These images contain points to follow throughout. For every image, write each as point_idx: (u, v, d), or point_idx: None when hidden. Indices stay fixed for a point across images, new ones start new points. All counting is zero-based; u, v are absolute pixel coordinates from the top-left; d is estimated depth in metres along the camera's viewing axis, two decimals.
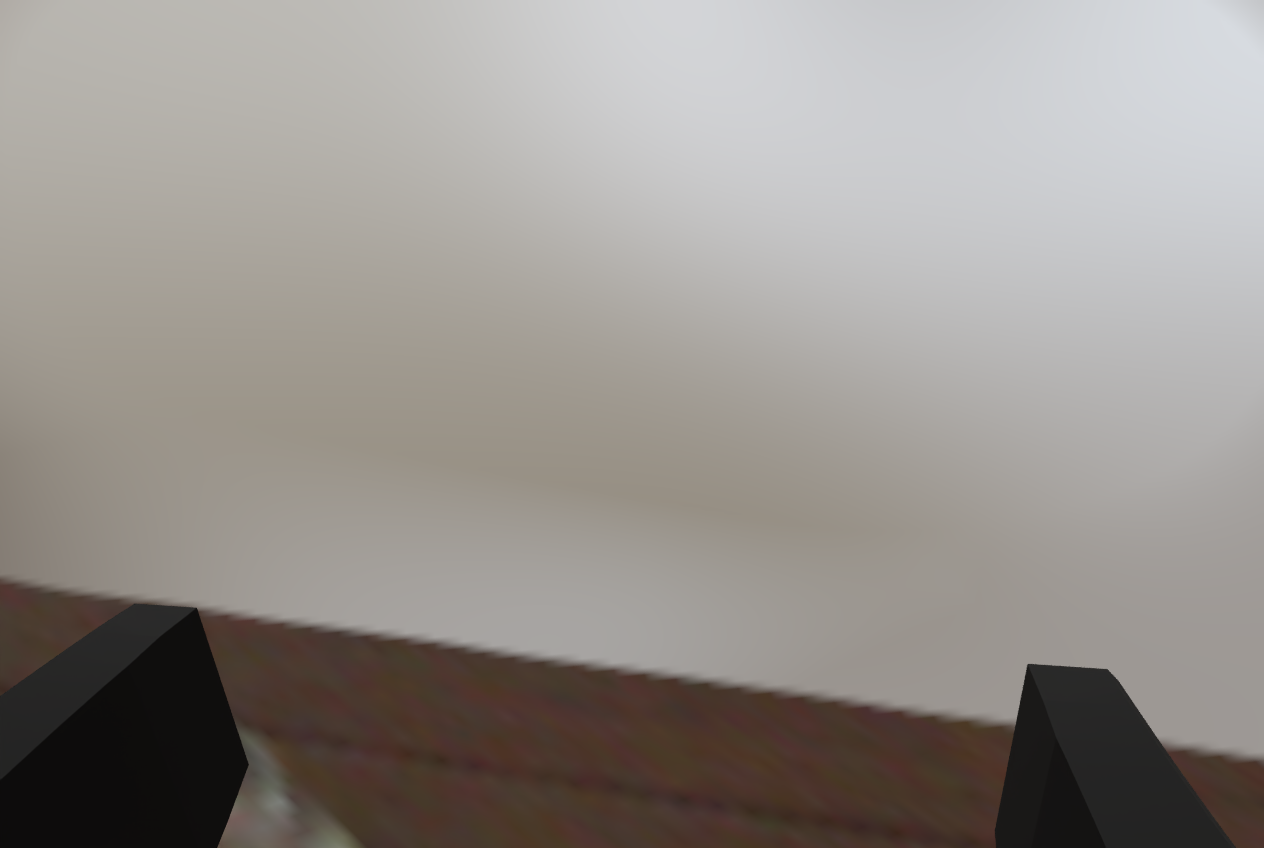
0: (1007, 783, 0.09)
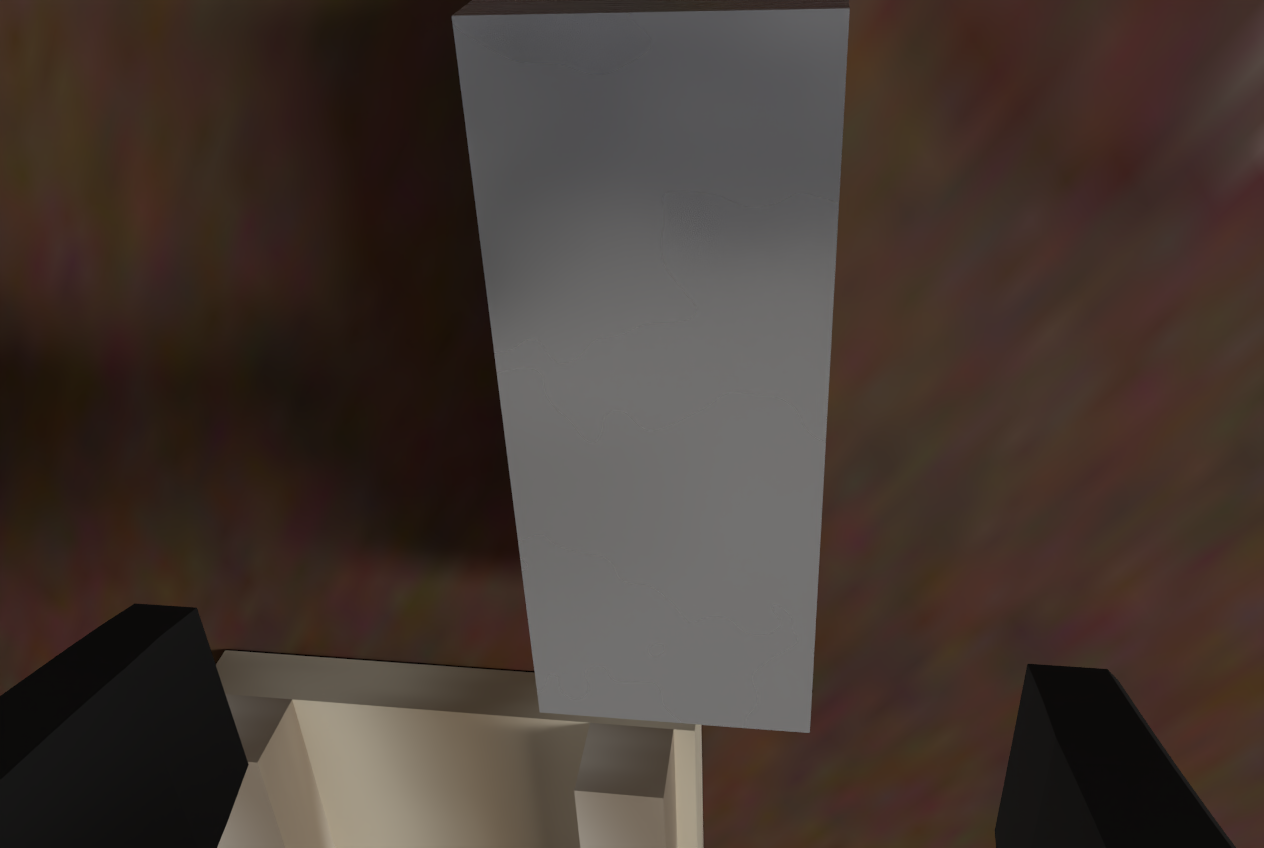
0: (1007, 783, 0.09)
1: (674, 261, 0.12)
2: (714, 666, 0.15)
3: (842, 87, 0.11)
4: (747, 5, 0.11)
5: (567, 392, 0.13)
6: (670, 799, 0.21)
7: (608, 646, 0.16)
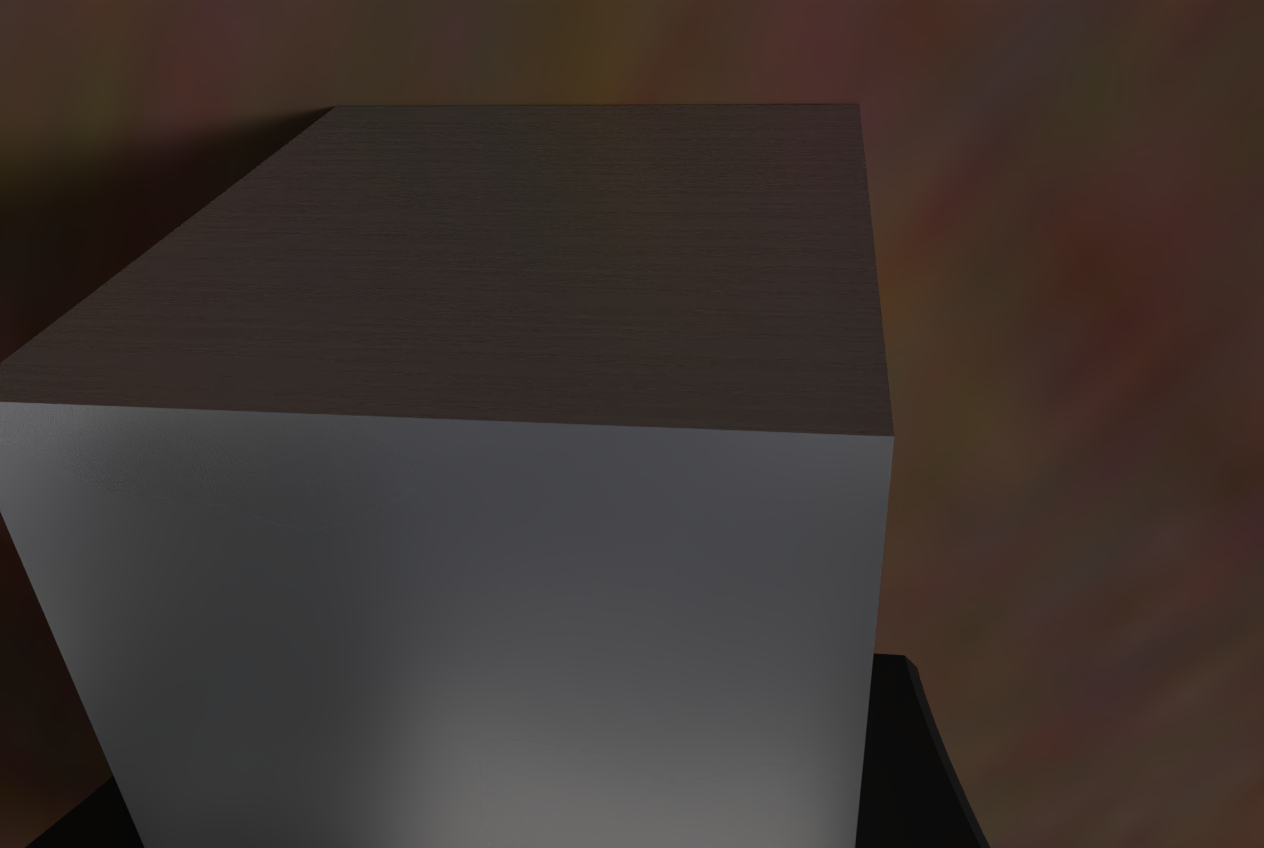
0: None
1: (513, 847, 0.06)
2: None
3: (872, 584, 0.05)
4: (643, 397, 0.05)
5: None
6: None
7: None
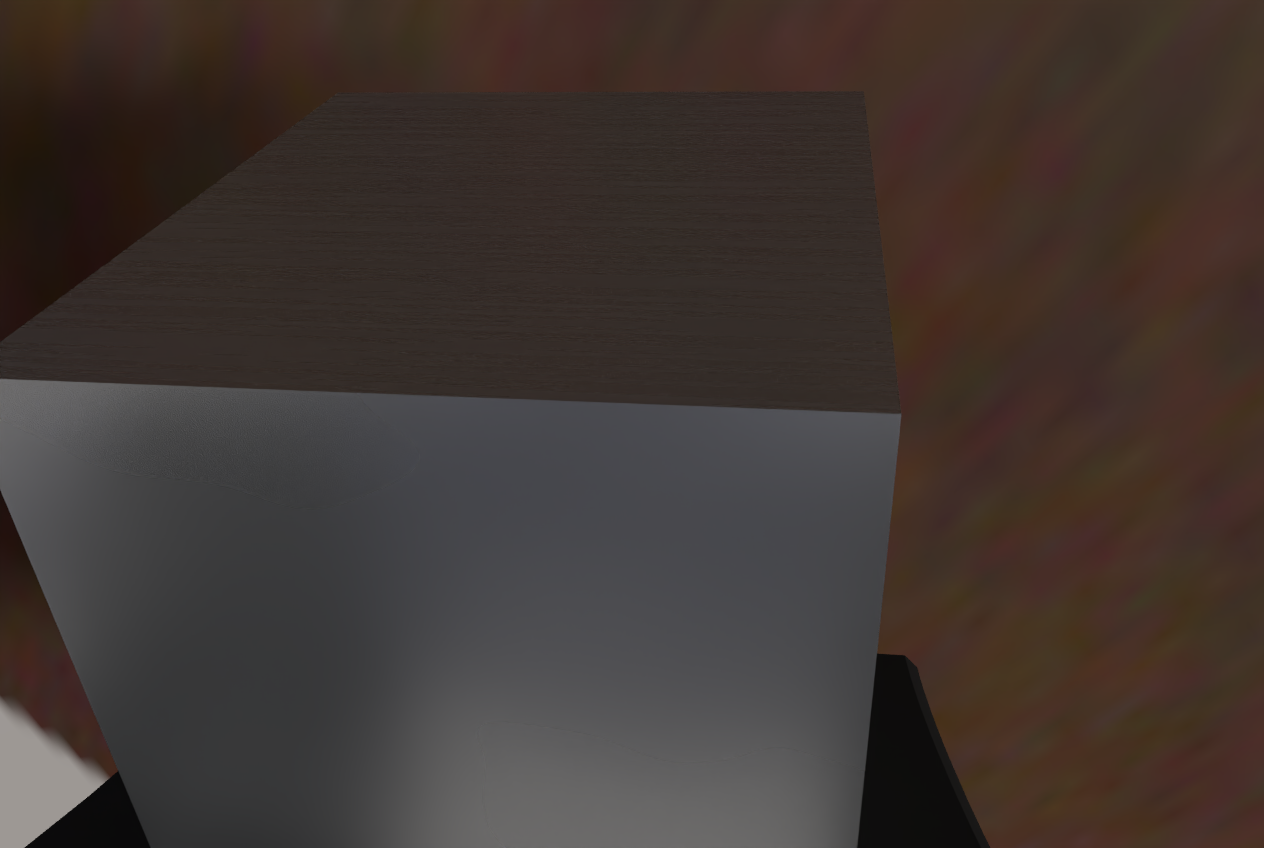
0: None
1: (515, 832, 0.06)
2: None
3: (877, 565, 0.05)
4: (647, 375, 0.04)
5: None
6: None
7: None
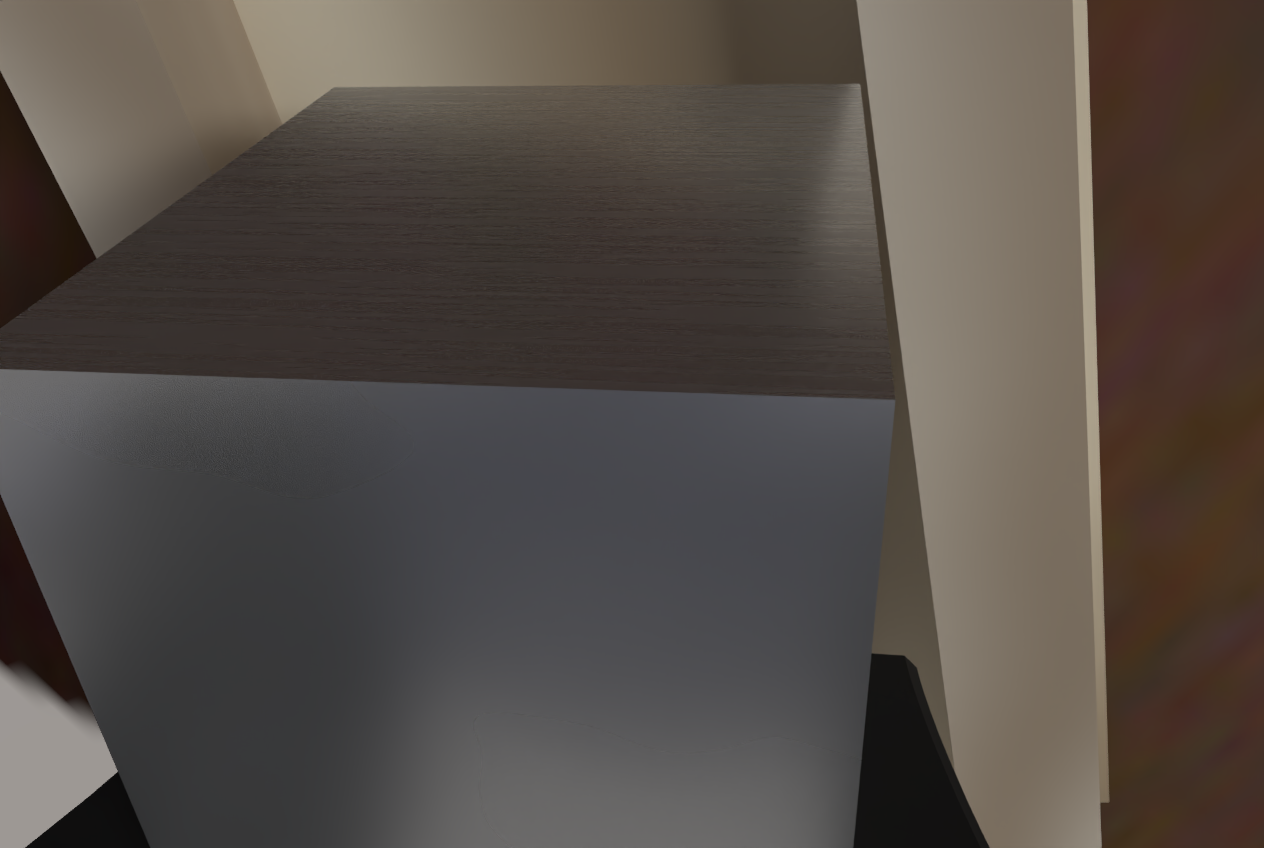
0: None
1: (513, 824, 0.06)
2: None
3: (873, 552, 0.05)
4: (642, 362, 0.04)
5: None
6: None
7: None
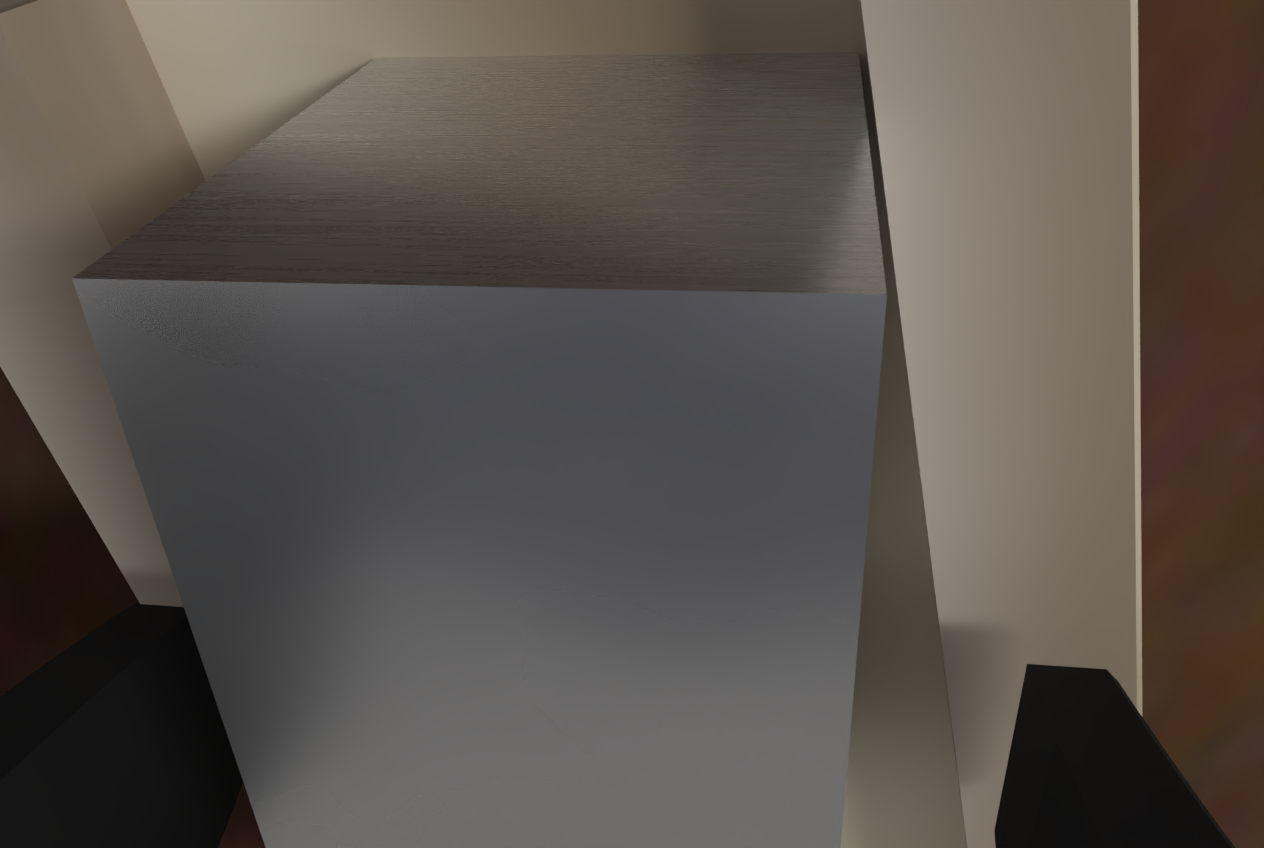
0: (1007, 783, 0.09)
1: (550, 697, 0.07)
2: None
3: (869, 434, 0.05)
4: (671, 269, 0.05)
5: None
6: None
7: None
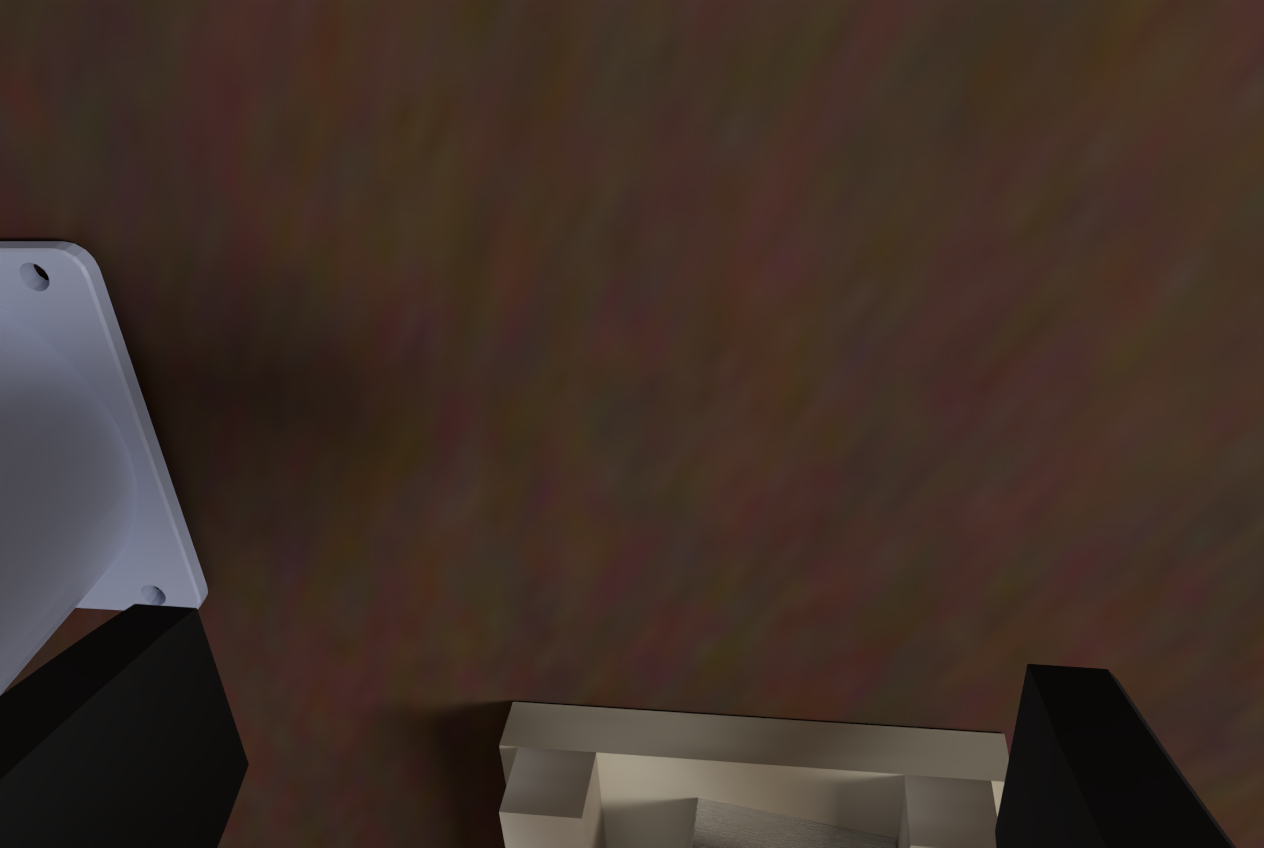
0: (1007, 783, 0.09)
1: None
2: None
3: None
4: None
5: None
6: None
7: None
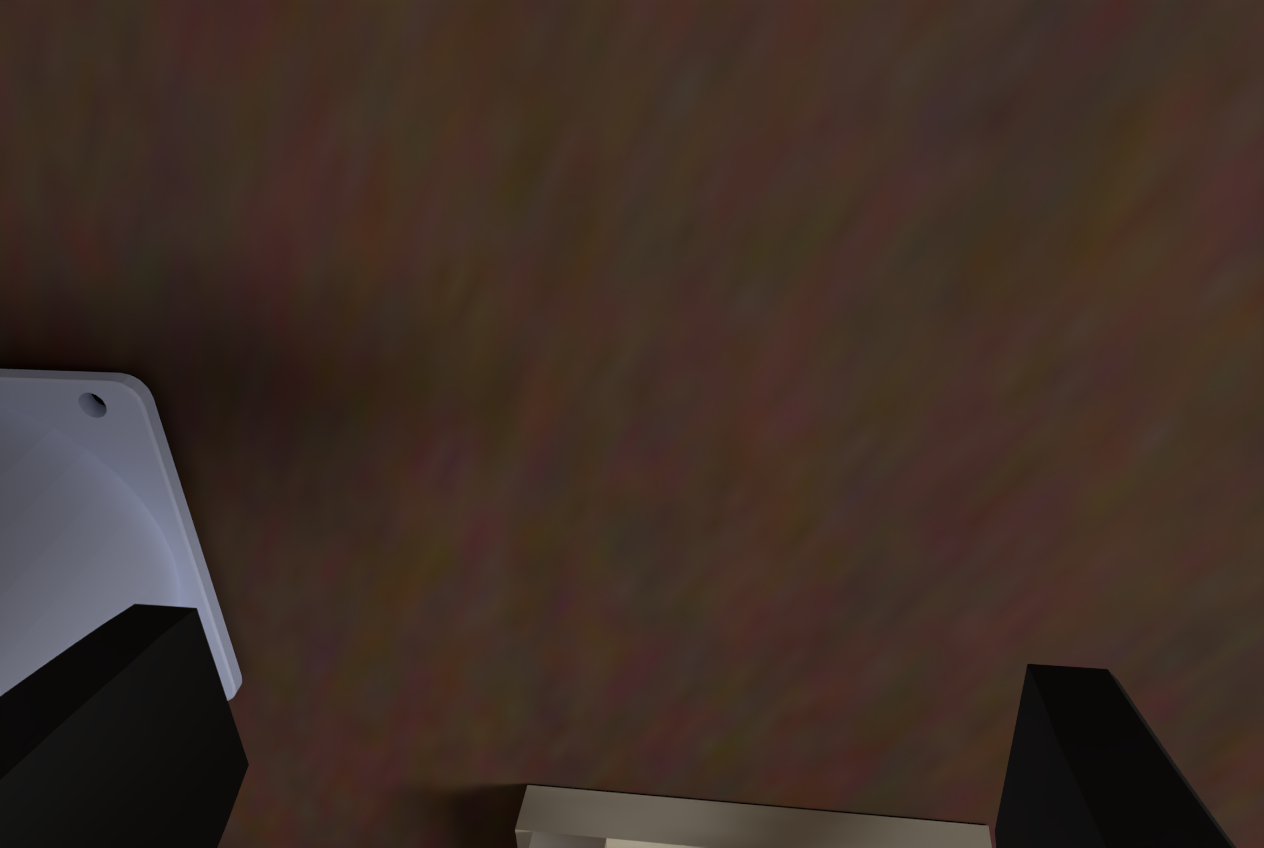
0: (1007, 783, 0.09)
1: None
2: None
3: None
4: None
5: None
6: None
7: None
